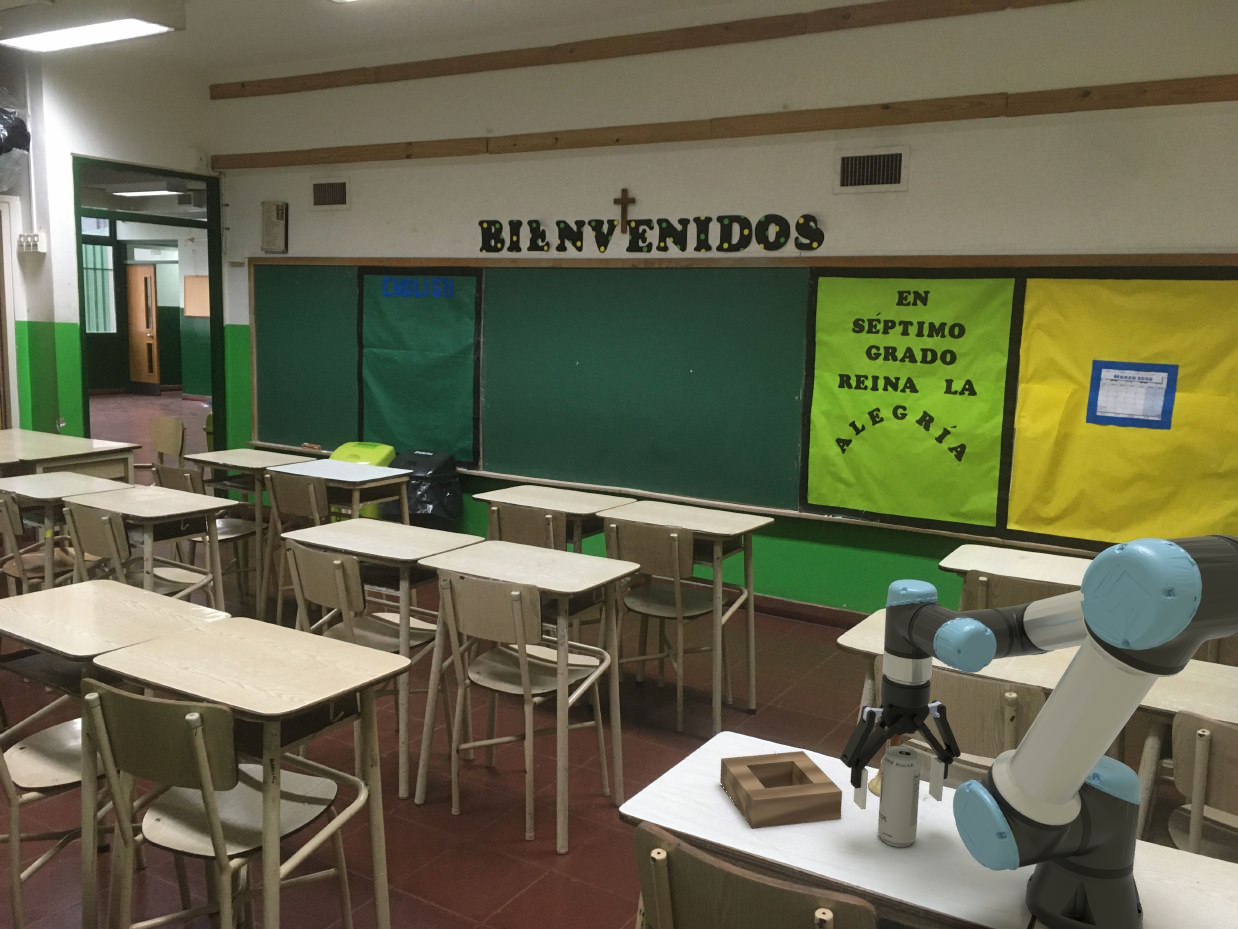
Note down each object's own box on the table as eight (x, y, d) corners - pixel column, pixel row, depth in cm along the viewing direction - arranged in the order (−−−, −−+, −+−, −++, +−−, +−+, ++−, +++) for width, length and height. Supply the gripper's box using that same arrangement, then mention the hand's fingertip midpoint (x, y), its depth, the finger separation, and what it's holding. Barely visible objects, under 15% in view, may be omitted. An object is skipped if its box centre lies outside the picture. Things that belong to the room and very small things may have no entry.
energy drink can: (878, 827, 162) (883, 742, 160) (916, 833, 160) (921, 747, 158) (876, 844, 157) (881, 757, 155) (915, 852, 155) (920, 763, 153)
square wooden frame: (840, 818, 165) (842, 791, 164) (752, 828, 161) (753, 800, 160) (801, 776, 180) (802, 751, 180) (720, 784, 176) (721, 758, 176)
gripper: (962, 663, 161) (953, 783, 164) (824, 673, 155) (817, 797, 159) (989, 680, 154) (979, 805, 157) (845, 691, 148) (837, 820, 151)
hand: (897, 801), depth 158 cm, fingers open, 13 cm apart
